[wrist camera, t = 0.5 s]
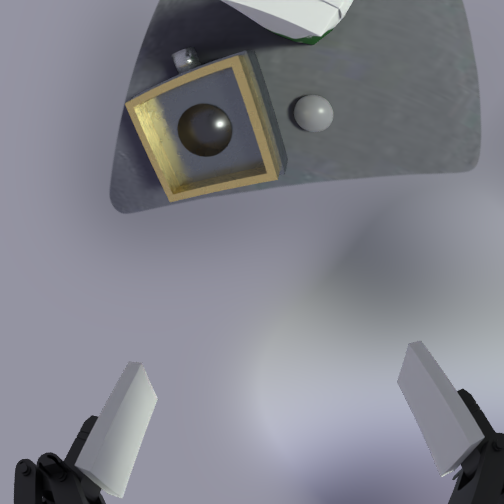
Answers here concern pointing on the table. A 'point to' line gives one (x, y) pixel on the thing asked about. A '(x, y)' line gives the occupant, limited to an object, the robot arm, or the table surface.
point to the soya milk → (295, 16)
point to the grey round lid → (313, 113)
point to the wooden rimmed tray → (210, 126)
